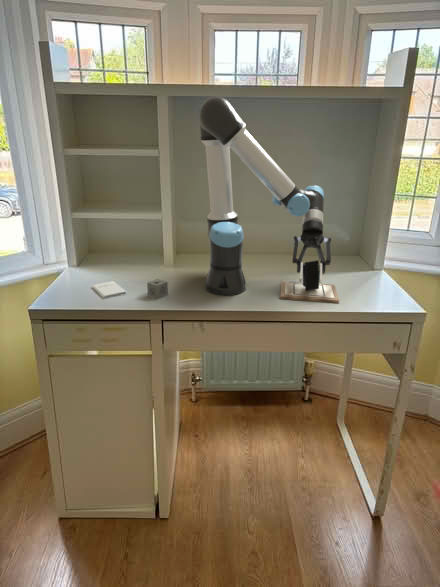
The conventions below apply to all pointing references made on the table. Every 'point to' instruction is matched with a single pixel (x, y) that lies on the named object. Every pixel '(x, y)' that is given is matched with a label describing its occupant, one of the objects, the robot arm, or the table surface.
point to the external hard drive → (108, 289)
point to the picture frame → (308, 292)
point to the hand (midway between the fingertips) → (310, 281)
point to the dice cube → (157, 288)
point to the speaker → (311, 275)
